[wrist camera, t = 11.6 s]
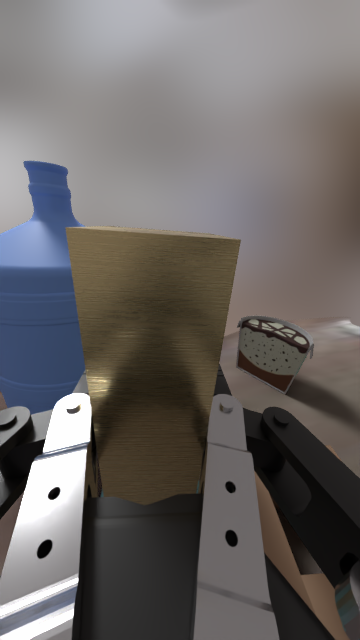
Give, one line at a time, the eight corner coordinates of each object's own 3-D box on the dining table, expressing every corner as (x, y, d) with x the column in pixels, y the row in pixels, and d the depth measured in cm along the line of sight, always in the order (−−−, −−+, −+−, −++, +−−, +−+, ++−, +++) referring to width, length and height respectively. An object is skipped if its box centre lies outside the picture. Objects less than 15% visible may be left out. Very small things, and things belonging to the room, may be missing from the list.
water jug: (24, 500, 19) (-162, 89, 8) (13, 396, 30) (-71, 159, 19) (163, 418, 29) (175, 172, 17) (116, 361, 39) (103, 187, 28)
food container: (307, 382, 37) (327, 333, 33) (294, 400, 33) (316, 346, 29) (245, 352, 45) (255, 309, 41) (229, 363, 41) (238, 317, 37)
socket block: (313, 474, 23) (330, 445, 21) (424, 664, 13) (476, 644, 11) (216, 477, 22) (223, 447, 20) (257, 684, 12) (279, 666, 10)
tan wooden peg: (179, 487, 16) (208, 233, 9) (183, 565, 12) (241, 239, 5) (125, 489, 16) (109, 226, 8) (114, 570, 12) (65, 226, 5)
